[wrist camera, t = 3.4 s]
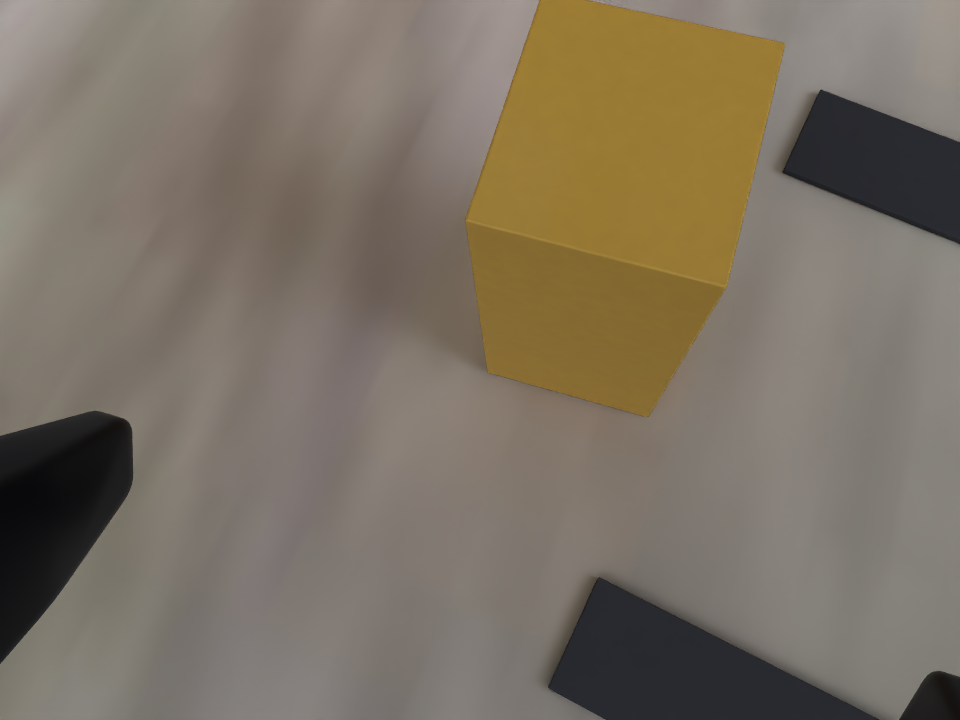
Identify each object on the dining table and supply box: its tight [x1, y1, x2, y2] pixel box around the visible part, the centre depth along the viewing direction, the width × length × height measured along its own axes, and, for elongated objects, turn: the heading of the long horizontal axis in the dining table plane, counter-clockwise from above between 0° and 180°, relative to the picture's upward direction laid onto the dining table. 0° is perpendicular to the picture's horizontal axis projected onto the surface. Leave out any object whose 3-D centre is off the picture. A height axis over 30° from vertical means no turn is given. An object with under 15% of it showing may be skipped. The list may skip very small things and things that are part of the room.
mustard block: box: [465, 0, 785, 417], centre depth 20 cm, size 5×5×10 cm
